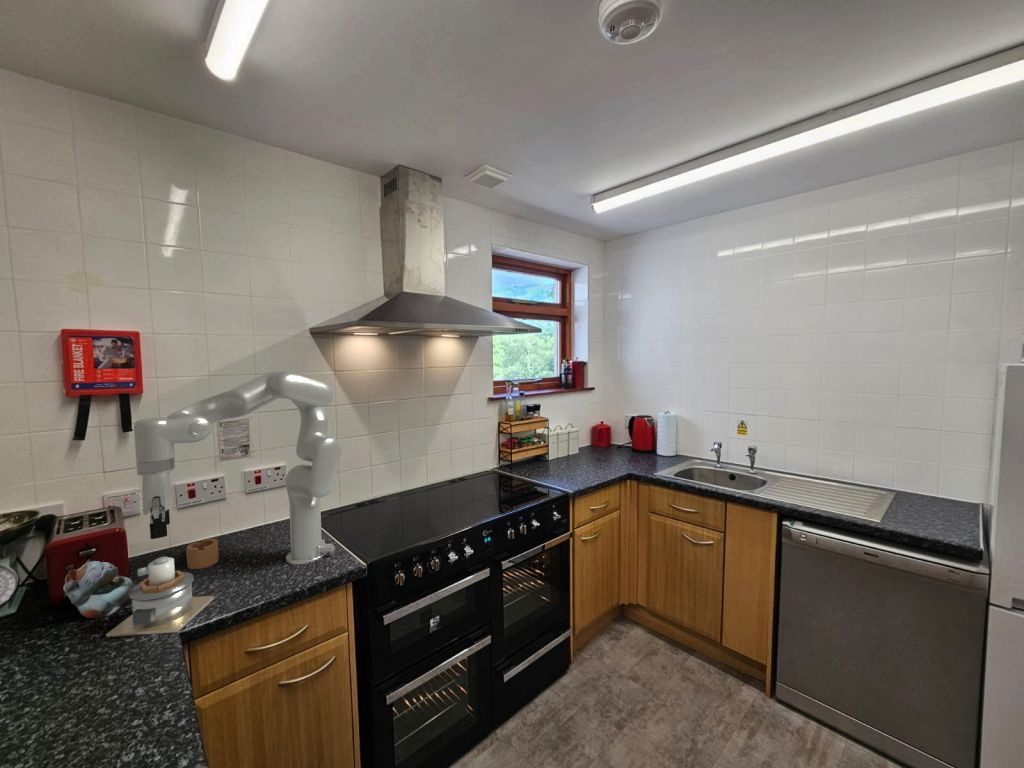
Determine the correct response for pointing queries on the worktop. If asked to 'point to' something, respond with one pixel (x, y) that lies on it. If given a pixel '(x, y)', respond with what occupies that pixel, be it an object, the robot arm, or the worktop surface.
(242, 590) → the worktop surface
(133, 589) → the cylinder on square plate
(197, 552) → the brown rounded piece
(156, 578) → the drain pump
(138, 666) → the worktop surface
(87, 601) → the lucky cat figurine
